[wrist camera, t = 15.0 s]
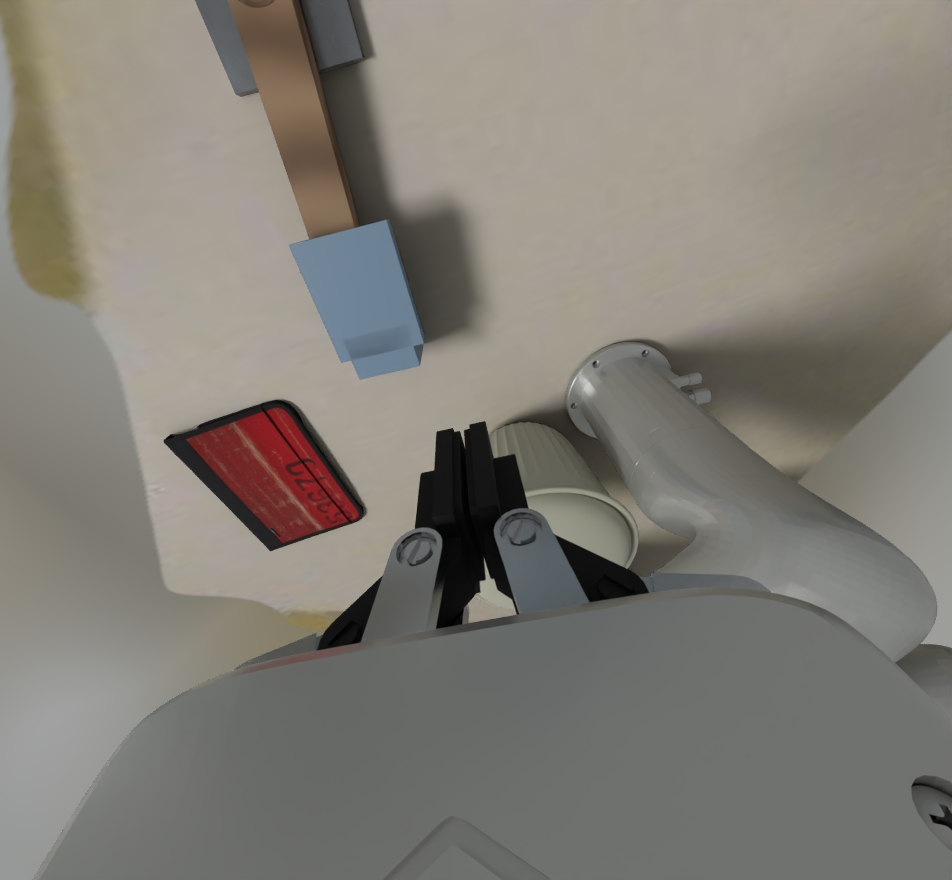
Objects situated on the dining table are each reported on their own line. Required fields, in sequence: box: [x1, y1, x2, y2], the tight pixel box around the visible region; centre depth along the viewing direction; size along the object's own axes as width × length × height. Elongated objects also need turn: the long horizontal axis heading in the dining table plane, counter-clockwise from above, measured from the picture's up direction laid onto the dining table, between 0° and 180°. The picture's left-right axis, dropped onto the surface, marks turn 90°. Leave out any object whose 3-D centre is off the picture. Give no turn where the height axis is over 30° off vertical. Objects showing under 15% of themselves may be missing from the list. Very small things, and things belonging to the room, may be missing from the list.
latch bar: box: [228, 0, 360, 239], centre depth 28 cm, size 23×4×4 cm, turn 8°
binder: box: [164, 400, 364, 551], centre depth 49 cm, size 16×2×21 cm
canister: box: [475, 422, 639, 611], centre depth 41 cm, size 18×18×21 cm
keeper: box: [289, 219, 425, 379], centre depth 34 cm, size 8×12×6 cm, turn 12°
